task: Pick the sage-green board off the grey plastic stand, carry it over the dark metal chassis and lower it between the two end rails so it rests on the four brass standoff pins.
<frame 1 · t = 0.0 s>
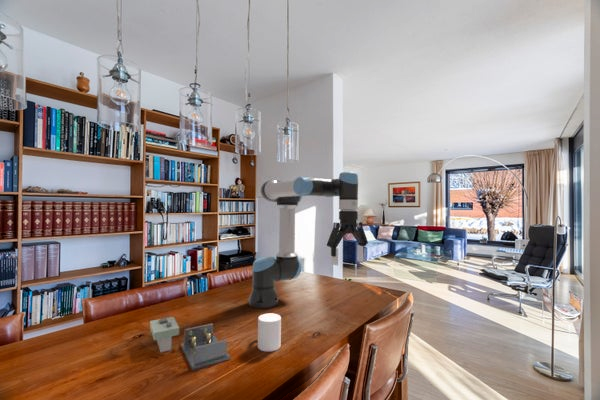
hand: (348, 263, 114), 28 cm above the table, fingers open, 13 cm apart
stand: (163, 344, 102), on the table
chassis: (204, 352, 97), on the table
board: (164, 331, 102), point 5 cm above the table, touching stand
mug: (267, 344, 104), on the table
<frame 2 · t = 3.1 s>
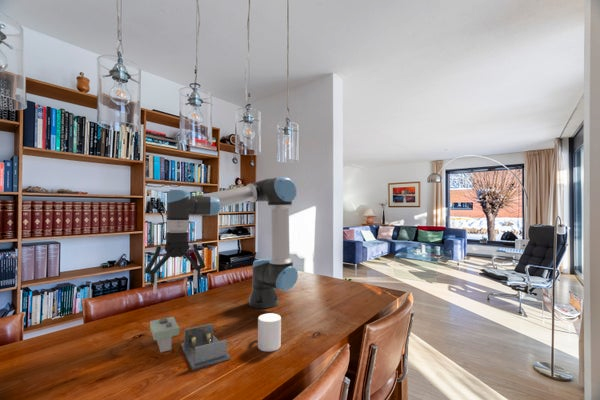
hand: (175, 290, 103), 20 cm above the table, fingers open, 13 cm apart
nothing on the table moved.
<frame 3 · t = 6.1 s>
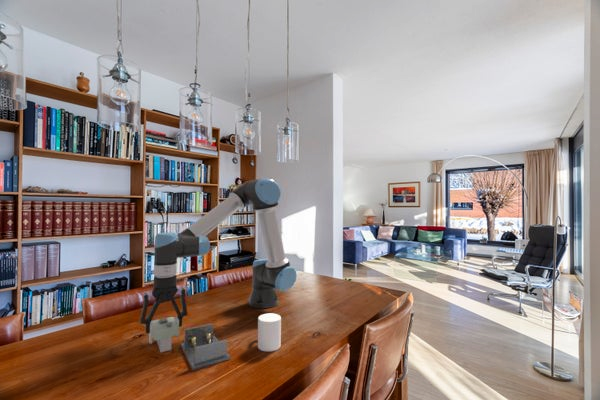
hand: (164, 338, 102), 2 cm above the table, fingers closed on board, 8 cm apart
board: (164, 330, 102), point 5 cm above the table, touching gripper, stand
everything else where it was.
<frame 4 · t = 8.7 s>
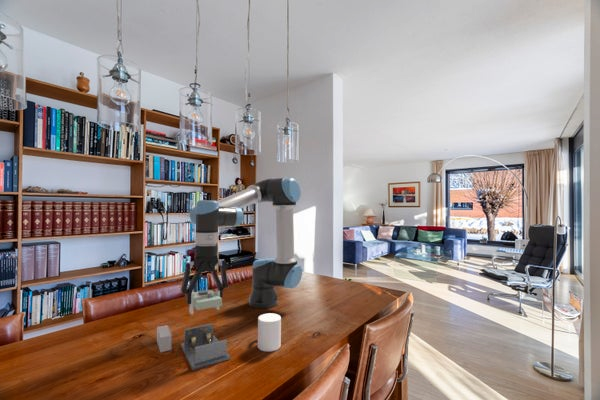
hand: (204, 310, 97), 14 cm above the table, fingers closed on board, 8 cm apart
board: (204, 302, 97), point 17 cm above the table, touching gripper
everything else where it was.
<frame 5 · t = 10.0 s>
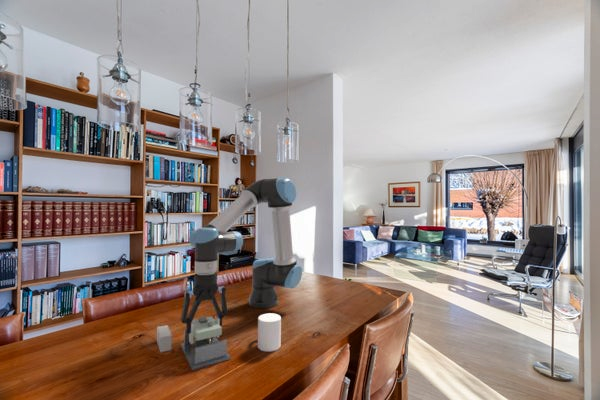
hand: (204, 339, 97), 5 cm above the table, fingers closed on board, 8 cm apart
board: (204, 330, 97), point 7 cm above the table, touching gripper
everything else where it was.
when the fingers open (2 cm above the table, at t = 11.3 s): board stays where it is, resting on chassis.
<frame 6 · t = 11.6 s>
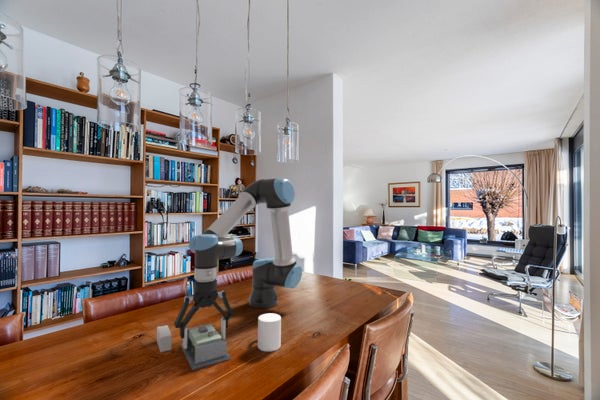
hand: (204, 342, 97), 3 cm above the table, fingers open, 12 cm apart
board: (204, 340, 97), point 4 cm above the table, touching chassis
everything else where it was.
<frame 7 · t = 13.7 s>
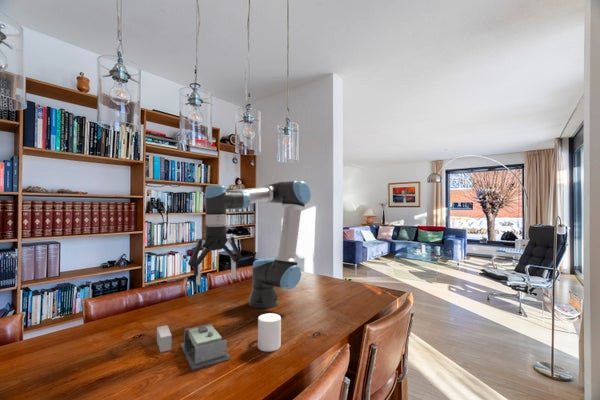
hand: (216, 281, 108), 22 cm above the table, fingers open, 13 cm apart
nothing on the table moved.
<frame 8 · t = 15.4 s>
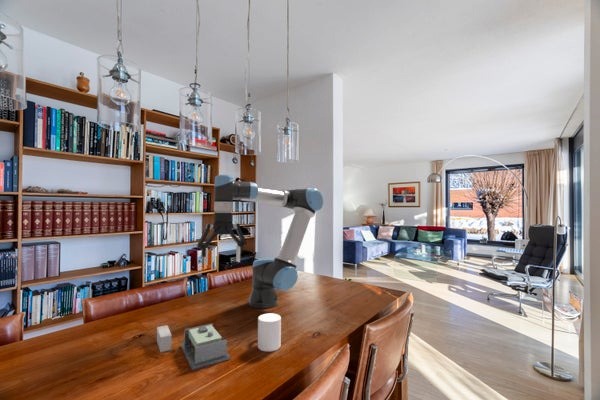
hand: (222, 263, 117), 27 cm above the table, fingers open, 13 cm apart
nothing on the table moved.
at the end: board 0.0 cm off-centre on the chassis, point 4.0 cm above the chassis's base; board tilted 0°; the gripper is holding nothing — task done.
